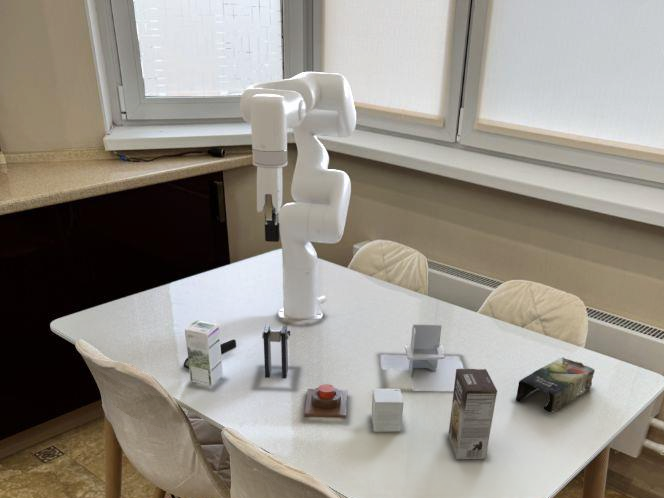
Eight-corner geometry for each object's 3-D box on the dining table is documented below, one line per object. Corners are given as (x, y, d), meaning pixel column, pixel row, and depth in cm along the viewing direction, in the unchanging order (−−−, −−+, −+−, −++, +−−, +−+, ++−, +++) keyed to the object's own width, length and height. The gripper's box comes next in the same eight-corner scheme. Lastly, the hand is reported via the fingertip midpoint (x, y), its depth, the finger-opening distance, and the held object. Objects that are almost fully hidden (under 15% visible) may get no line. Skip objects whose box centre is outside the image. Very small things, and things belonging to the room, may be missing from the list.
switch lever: (270, 337, 170) (270, 327, 169) (290, 338, 170) (290, 328, 170) (263, 341, 158) (263, 330, 158) (285, 342, 158) (285, 331, 158)
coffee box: (446, 435, 147) (455, 367, 138) (476, 435, 147) (486, 367, 139) (455, 460, 139) (464, 390, 130) (486, 459, 140) (498, 390, 131)
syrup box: (224, 379, 164) (219, 322, 156) (211, 390, 159) (206, 333, 151) (203, 375, 165) (197, 318, 157) (190, 386, 160) (183, 328, 153)
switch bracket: (260, 367, 170) (258, 318, 163) (297, 368, 170) (296, 320, 163) (254, 388, 161) (252, 338, 154) (293, 390, 161) (292, 339, 154)
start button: (318, 390, 154) (318, 383, 153) (334, 391, 154) (335, 384, 153) (317, 398, 151) (317, 391, 150) (334, 399, 151) (334, 392, 150)
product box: (370, 417, 152) (372, 387, 148) (398, 417, 152) (400, 387, 148) (373, 432, 147) (374, 402, 143) (401, 432, 147) (404, 402, 143)
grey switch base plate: (472, 391, 163) (478, 347, 157) (384, 390, 162) (387, 345, 156) (459, 356, 179) (464, 314, 173) (379, 354, 178) (382, 312, 172)
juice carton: (557, 373, 173) (562, 351, 169) (593, 388, 167) (599, 365, 164) (513, 401, 160) (517, 378, 157) (550, 418, 155) (555, 394, 151)
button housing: (307, 396, 159) (307, 380, 156) (346, 397, 159) (347, 382, 157) (304, 421, 149) (304, 405, 147) (345, 422, 149) (346, 407, 147)
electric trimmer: (240, 352, 177) (239, 340, 175) (192, 372, 166) (191, 360, 164) (230, 348, 179) (229, 336, 177) (182, 367, 168) (181, 355, 166)
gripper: (257, 150, 157) (260, 230, 167) (247, 164, 145) (252, 250, 154) (290, 151, 157) (291, 231, 167) (283, 165, 145) (285, 251, 155)
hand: (272, 240), depth 161 cm, fingers closed
